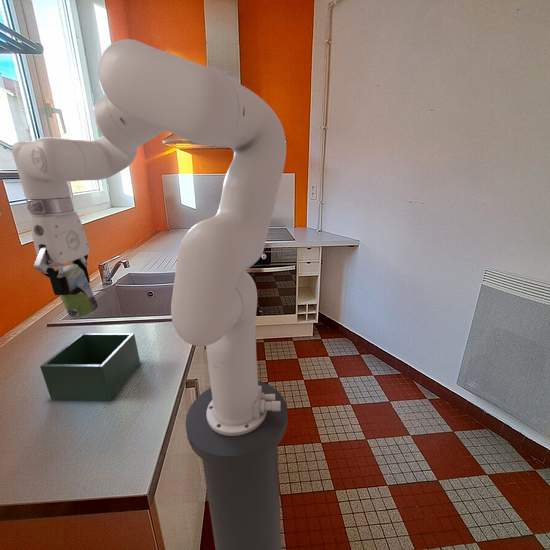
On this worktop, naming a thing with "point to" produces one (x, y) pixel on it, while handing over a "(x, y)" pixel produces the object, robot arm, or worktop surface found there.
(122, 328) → the worktop surface
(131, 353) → the waste bin
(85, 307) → the beverage can
